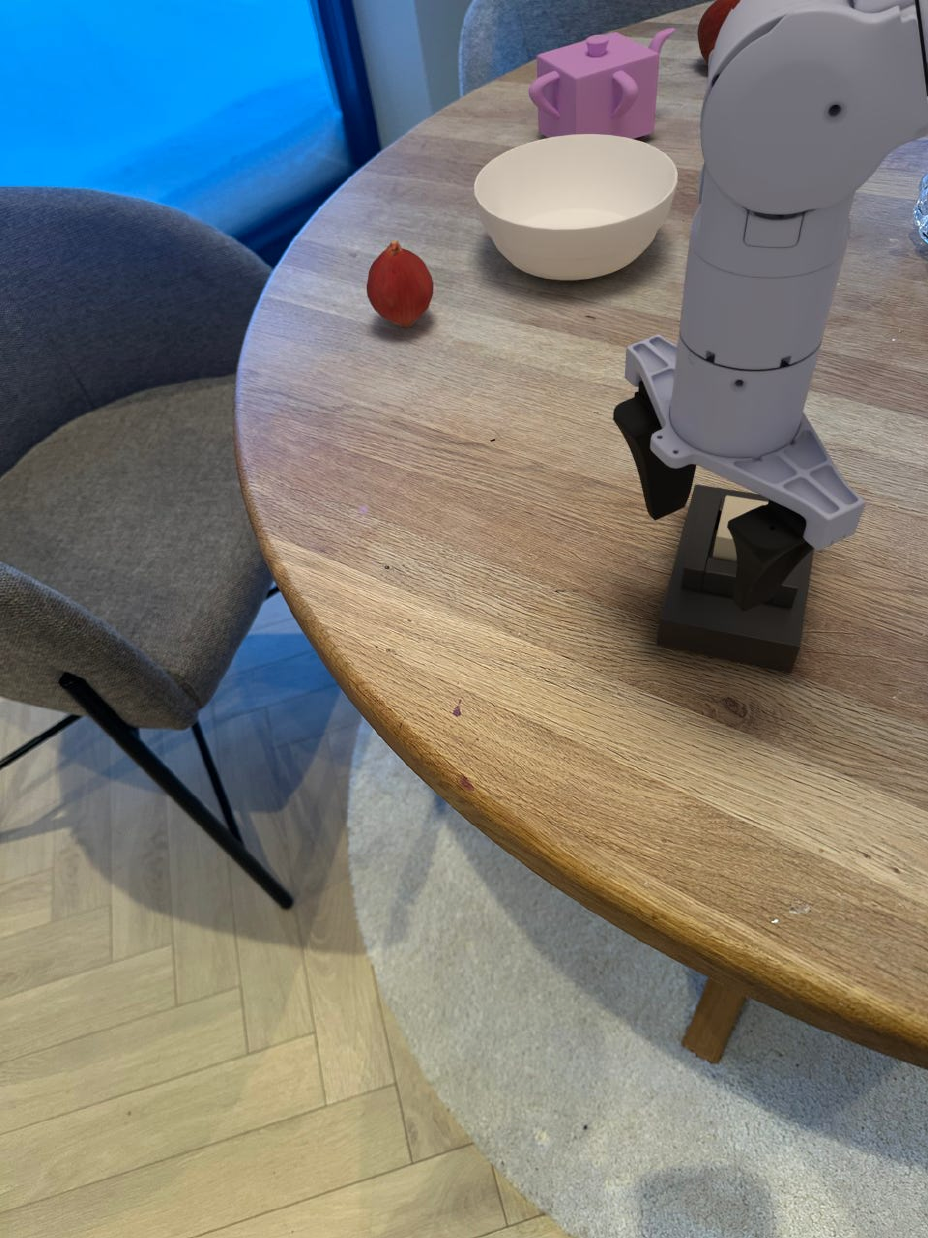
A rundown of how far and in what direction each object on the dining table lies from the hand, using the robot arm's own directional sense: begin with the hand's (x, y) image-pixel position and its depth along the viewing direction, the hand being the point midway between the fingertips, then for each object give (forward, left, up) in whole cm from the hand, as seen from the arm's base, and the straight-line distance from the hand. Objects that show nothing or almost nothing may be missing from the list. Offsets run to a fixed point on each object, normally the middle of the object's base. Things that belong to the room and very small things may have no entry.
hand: (708, 553), depth 46 cm
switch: (-3, -5, -4) cm, 7 cm away
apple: (-10, -90, -9) cm, 91 cm away
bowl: (+8, -47, -9) cm, 48 cm away
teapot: (+5, -72, -9) cm, 73 cm away
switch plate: (-3, -5, -8) cm, 10 cm away
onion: (+23, -36, -9) cm, 43 cm away
